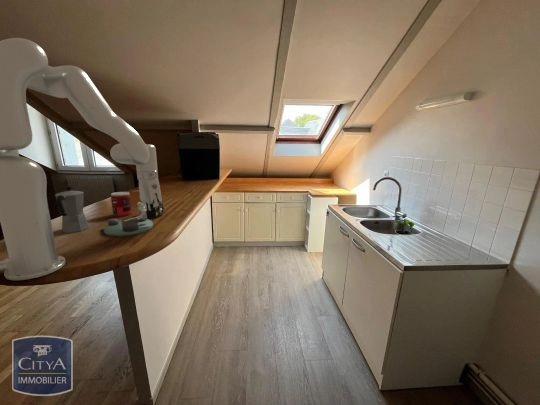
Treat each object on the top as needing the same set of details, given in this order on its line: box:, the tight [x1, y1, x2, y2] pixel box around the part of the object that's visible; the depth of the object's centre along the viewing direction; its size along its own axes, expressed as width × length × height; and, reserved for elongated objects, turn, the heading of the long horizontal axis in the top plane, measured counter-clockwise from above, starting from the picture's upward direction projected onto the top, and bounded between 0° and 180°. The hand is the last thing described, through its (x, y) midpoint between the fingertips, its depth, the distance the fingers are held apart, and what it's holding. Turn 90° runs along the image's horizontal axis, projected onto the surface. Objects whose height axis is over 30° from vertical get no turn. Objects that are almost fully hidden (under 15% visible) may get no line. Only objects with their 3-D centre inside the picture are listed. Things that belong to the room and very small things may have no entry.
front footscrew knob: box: [120, 209, 149, 232], centre depth 100 cm, size 13×6×6 cm, turn 164°
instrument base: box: [103, 214, 154, 237], centre depth 103 cm, size 18×18×4 cm
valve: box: [136, 201, 165, 217], centre depth 121 cm, size 7×7×12 cm
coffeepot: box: [54, 185, 90, 234], centre depth 98 cm, size 15×9×18 cm, turn 14°
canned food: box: [110, 191, 132, 218], centre depth 121 cm, size 8×8×11 cm
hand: (151, 218), depth 103 cm, fingers closed
